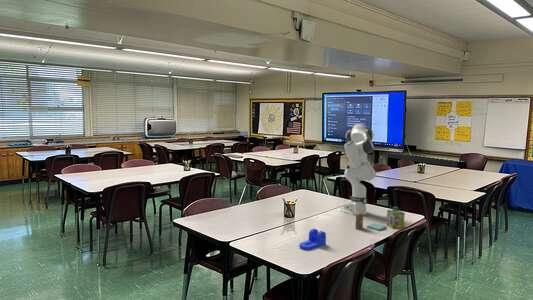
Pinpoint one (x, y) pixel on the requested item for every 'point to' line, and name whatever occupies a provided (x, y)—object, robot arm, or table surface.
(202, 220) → the table surface
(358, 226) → the walnut block
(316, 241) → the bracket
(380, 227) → the teal pad
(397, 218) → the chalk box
